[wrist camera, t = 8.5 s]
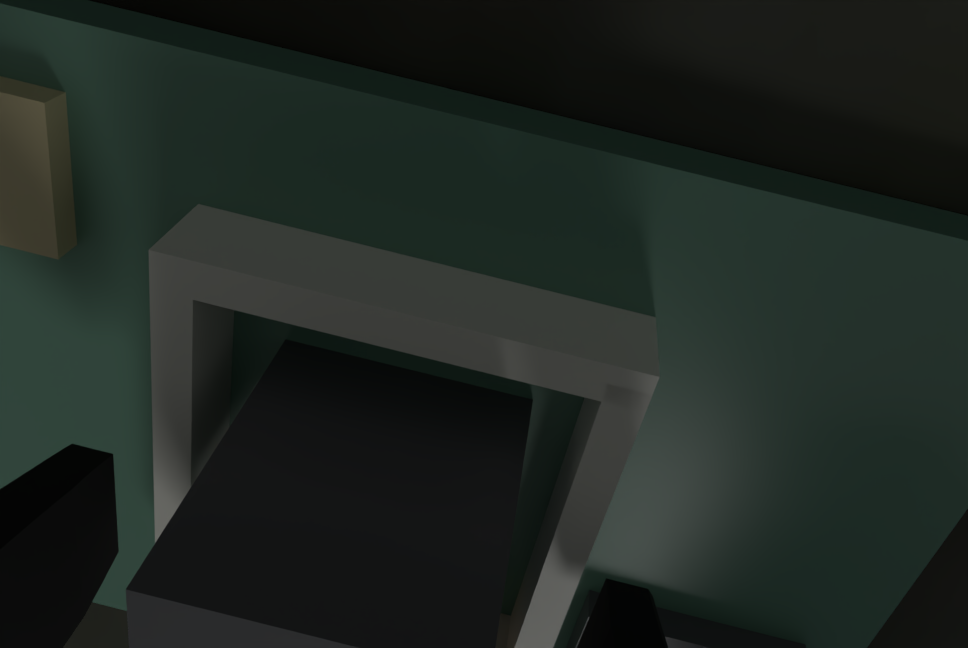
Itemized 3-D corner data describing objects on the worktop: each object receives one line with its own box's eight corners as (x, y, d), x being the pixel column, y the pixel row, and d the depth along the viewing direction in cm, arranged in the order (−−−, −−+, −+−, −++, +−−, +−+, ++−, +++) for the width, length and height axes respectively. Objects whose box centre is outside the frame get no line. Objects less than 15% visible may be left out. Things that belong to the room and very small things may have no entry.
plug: (533, 399, 13) (490, 680, 9) (478, 590, 16) (424, 882, 11) (285, 339, 13) (125, 588, 9) (269, 539, 16) (139, 809, 11)
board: (1095, 247, 12) (1200, 344, 9) (767, 730, 18) (786, 852, 16) (-152, -60, 12) (-320, -31, 10) (-36, 526, 18) (-122, 620, 16)
